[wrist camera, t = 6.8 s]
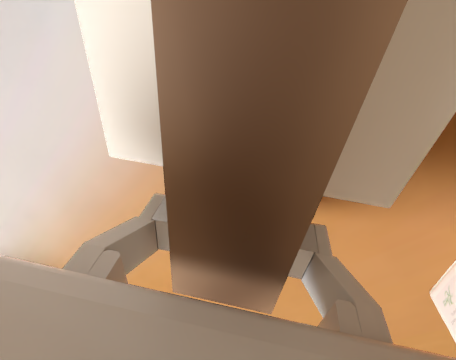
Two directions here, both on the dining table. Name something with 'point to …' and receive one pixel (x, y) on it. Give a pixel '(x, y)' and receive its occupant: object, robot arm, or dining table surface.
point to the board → (362, 129)
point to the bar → (256, 129)
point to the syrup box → (446, 298)
